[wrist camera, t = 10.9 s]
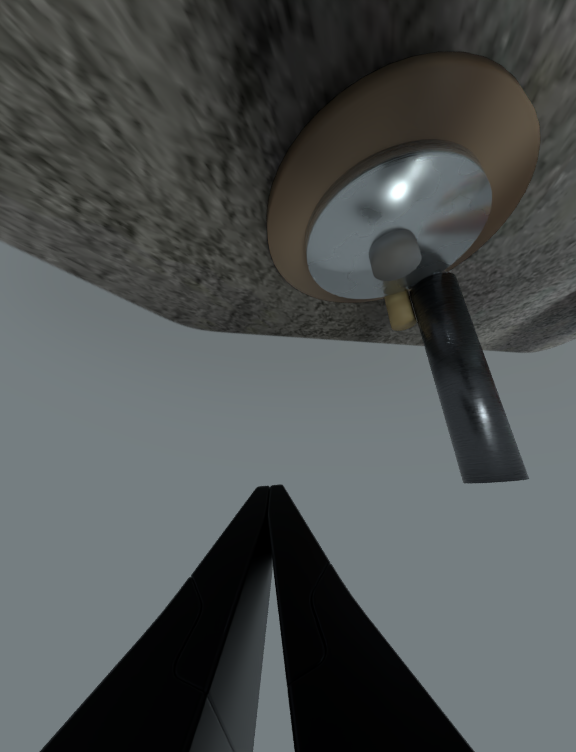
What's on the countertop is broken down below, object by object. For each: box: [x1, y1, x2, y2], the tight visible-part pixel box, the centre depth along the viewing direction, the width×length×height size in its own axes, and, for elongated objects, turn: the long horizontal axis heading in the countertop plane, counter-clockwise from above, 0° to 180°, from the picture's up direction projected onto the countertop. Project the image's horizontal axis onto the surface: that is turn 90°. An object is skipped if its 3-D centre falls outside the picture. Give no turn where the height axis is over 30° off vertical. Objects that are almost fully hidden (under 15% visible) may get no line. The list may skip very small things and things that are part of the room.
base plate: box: [267, 52, 540, 331], centre depth 15 cm, size 13×13×4 cm
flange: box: [305, 139, 529, 483], centre depth 14 cm, size 11×9×13 cm
